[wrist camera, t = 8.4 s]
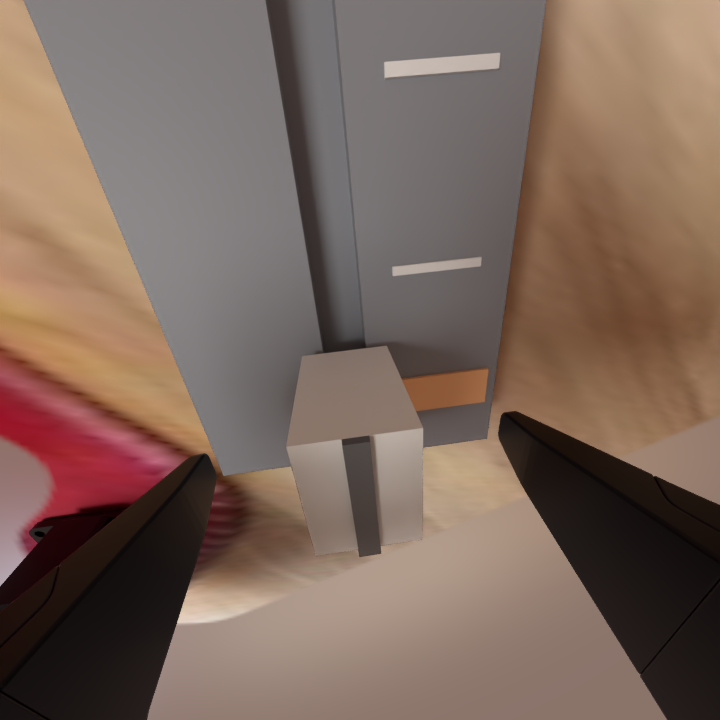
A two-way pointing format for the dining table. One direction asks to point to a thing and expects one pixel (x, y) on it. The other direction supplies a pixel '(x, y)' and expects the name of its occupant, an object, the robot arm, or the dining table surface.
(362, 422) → the fader knob
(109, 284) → the dining table surface
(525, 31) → the console
